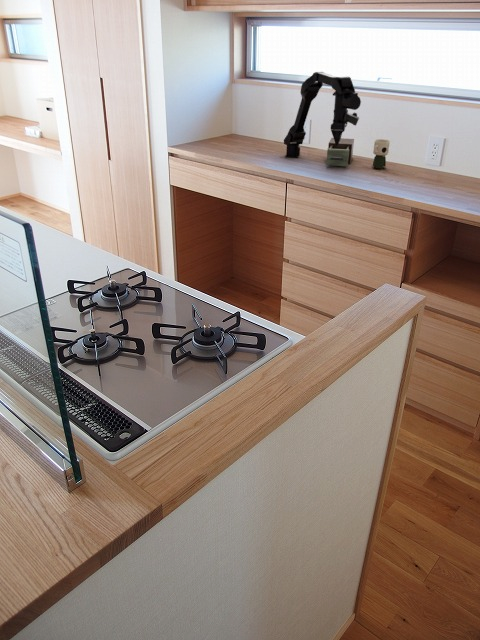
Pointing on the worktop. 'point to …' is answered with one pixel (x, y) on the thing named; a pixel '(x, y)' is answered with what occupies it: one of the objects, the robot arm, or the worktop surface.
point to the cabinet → (344, 142)
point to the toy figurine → (380, 153)
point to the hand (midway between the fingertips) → (337, 143)
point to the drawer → (338, 155)
